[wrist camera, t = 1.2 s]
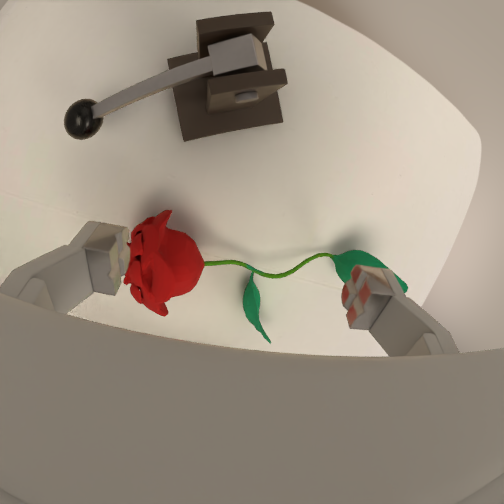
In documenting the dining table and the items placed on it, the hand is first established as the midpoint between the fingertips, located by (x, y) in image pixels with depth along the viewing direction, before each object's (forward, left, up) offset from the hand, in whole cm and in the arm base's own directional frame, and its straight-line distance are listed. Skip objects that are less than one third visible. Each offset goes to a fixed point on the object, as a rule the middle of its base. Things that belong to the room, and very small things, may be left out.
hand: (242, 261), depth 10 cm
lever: (-9, -3, -14) cm, 17 cm away
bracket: (-9, +3, -21) cm, 23 cm away
